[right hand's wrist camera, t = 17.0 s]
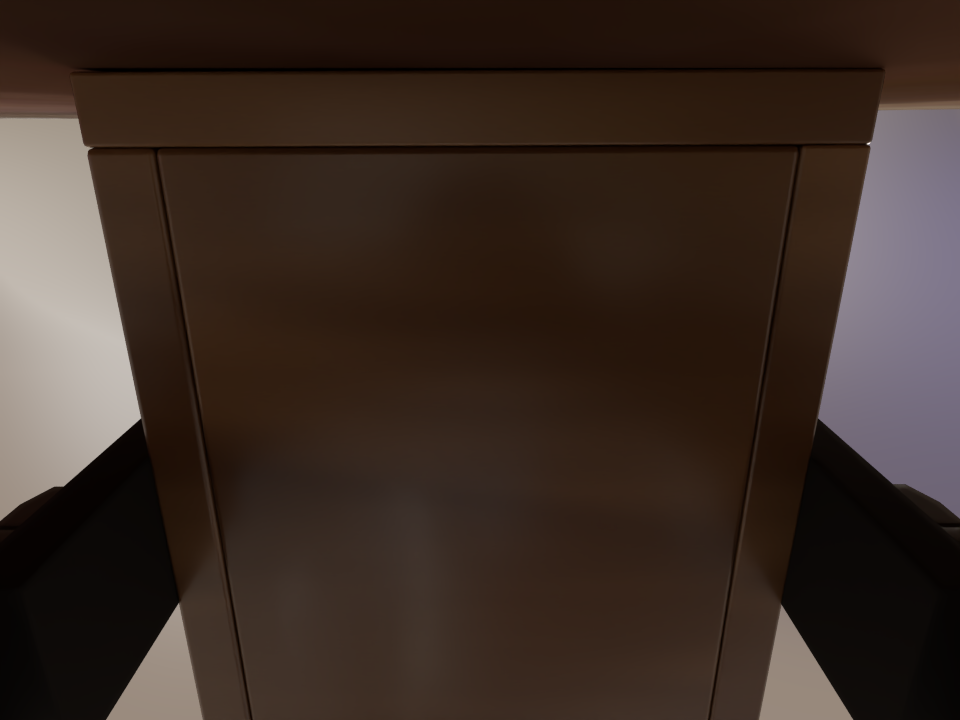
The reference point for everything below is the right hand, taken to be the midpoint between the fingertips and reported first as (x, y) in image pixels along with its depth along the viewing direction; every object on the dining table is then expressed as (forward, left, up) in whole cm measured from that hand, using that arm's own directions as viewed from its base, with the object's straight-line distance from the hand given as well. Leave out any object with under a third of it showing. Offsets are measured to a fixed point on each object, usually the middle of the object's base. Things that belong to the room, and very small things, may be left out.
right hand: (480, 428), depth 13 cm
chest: (+2, -3, -7) cm, 8 cm away
